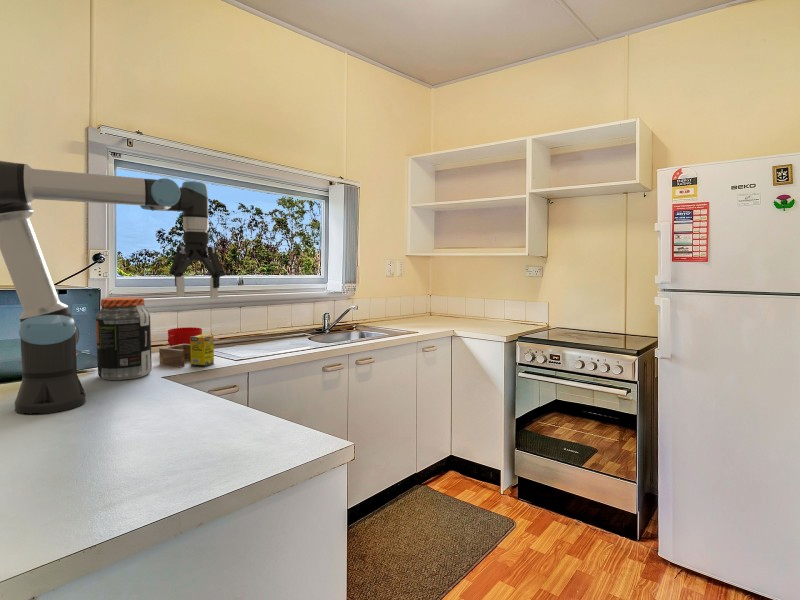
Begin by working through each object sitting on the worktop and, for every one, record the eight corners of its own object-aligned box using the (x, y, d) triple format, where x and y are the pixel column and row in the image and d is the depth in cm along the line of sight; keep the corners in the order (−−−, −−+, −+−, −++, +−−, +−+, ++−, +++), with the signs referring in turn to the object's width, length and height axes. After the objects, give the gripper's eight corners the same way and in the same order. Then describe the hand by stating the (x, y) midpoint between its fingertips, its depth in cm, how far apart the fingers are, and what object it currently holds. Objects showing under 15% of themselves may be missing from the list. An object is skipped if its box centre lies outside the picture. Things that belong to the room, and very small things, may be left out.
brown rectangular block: (181, 367, 176) (181, 350, 175) (159, 364, 179) (159, 348, 179) (205, 361, 186) (204, 345, 186) (184, 358, 190) (183, 343, 190)
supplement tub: (162, 372, 166) (160, 297, 164) (122, 383, 152) (119, 301, 150) (128, 368, 172) (125, 296, 170) (86, 378, 157) (82, 299, 155)
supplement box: (205, 367, 176) (204, 337, 175) (190, 366, 177) (189, 336, 176) (214, 363, 182) (214, 335, 181) (200, 363, 183) (199, 334, 182)
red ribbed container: (154, 357, 192) (154, 332, 191) (181, 349, 208) (180, 326, 208) (184, 359, 190) (183, 333, 189) (208, 351, 206) (208, 328, 205)
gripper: (235, 231, 154) (236, 298, 156) (174, 232, 163) (176, 295, 165) (219, 230, 147) (220, 299, 149) (156, 230, 156) (158, 296, 158)
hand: (197, 297), depth 157 cm, fingers open, 13 cm apart
